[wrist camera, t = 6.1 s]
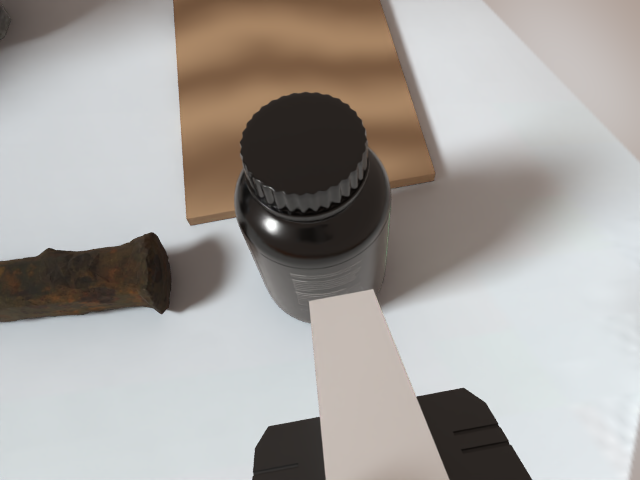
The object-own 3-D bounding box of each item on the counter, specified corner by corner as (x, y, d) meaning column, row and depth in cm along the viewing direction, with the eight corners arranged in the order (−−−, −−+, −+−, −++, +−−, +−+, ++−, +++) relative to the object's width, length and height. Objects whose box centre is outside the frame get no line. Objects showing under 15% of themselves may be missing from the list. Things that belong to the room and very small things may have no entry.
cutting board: (433, 180, 33) (435, 173, 32) (190, 225, 32) (186, 219, 32) (366, -32, 42) (366, -41, 41) (176, 2, 42) (172, -7, 41)
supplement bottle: (405, 247, 31) (427, 106, 20) (348, 350, 28) (339, 252, 18) (303, 200, 33) (273, 49, 22) (242, 293, 30) (175, 174, 20)
